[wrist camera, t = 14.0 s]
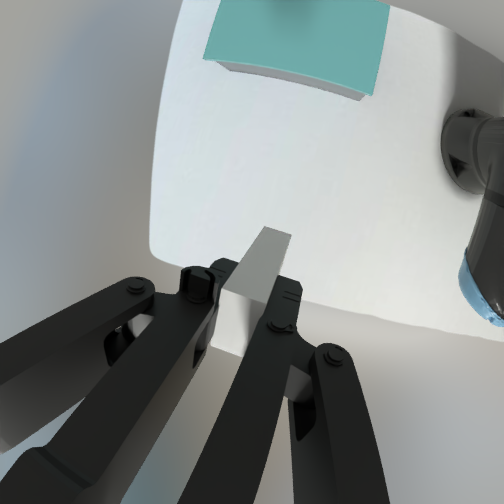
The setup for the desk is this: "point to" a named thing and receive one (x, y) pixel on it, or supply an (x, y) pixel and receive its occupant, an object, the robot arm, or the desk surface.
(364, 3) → the lid
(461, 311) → the desk surface
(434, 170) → the desk surface
